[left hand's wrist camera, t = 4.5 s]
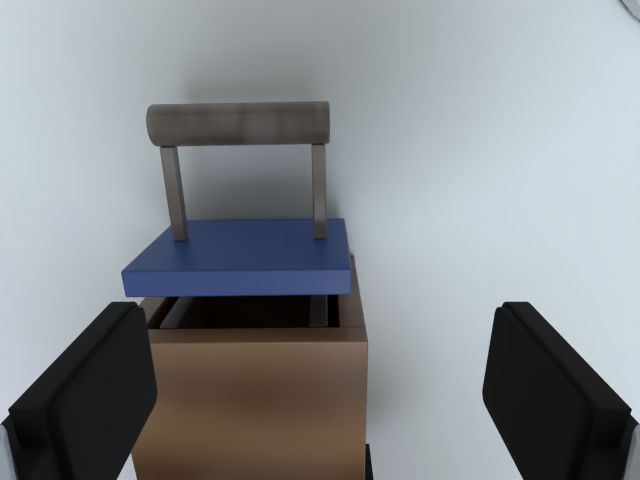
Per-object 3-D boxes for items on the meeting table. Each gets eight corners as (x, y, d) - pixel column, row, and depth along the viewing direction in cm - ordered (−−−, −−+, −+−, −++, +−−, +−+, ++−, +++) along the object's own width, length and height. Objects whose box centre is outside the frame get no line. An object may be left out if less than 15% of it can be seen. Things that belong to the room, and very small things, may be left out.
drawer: (157, 101, 21) (87, 110, 15) (344, 98, 21) (353, 105, 15) (203, 415, 28) (168, 511, 22) (344, 414, 28) (349, 511, 22)
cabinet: (177, 258, 25) (105, 343, 17) (354, 255, 25) (368, 341, 17) (205, 449, 30) (160, 586, 22) (351, 449, 30) (362, 586, 22)
